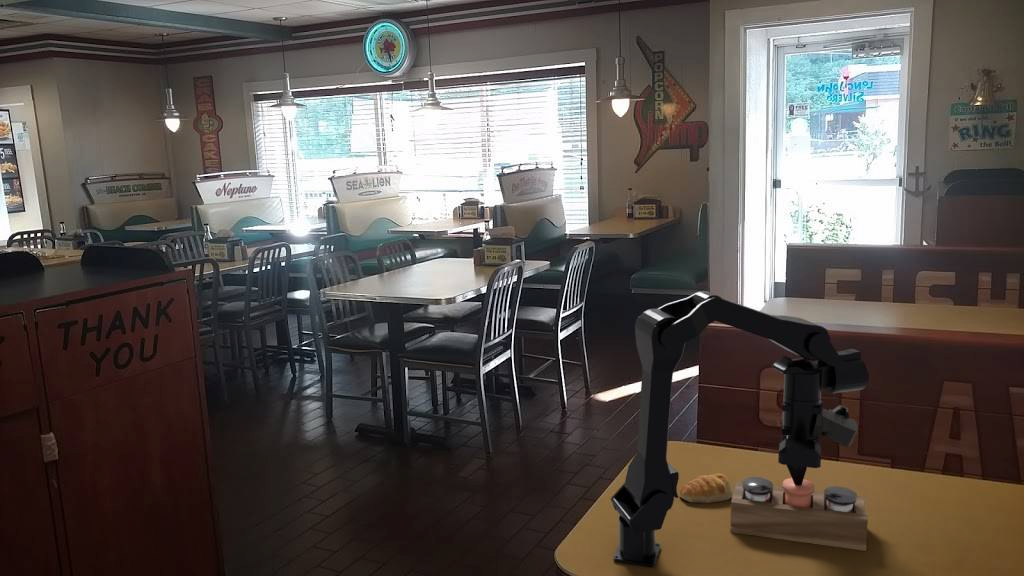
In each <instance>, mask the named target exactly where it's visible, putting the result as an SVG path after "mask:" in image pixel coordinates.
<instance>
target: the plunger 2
mask: <svg viewBox="0 0 1024 576" xmlns="http://www.w3.org/2000/svg"><path fill="white" fill-rule="evenodd" d="M823 492H824V498H825V499H826V500H827V507H826V510H832V511H840V512H848V513H853V504H854V503H855V502H856V501H857V496H858V495H857V493H856V492H855V491H854V490H853V489H850V488H848V487H844V486H838V485H837V486H836V485H835V486H828V487H826V488H824V490H823Z"/></svg>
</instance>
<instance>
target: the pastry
mask: <svg viewBox="0 0 1024 576" xmlns="http://www.w3.org/2000/svg"><path fill="white" fill-rule="evenodd" d="M733 494H734V491H733V490H732V486H731V484H730V481H729V479H728V478H727V476H726V475H725V474H723V473H719V472H716V473H714V474H707V475H698V476H697V477H696V478H695V479H693V480H691V481H687V482H686V483H685V484H683V485H682V486H680V489H679V493H678V497H680V498H682V500H685V501H687V502H689V503H692V504H693V503H702V504H703V503H705V504H710V503H715V502H716V503H717V502H722V501H723V502H724V501H728V500H730V499H732V498H733Z"/></svg>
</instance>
